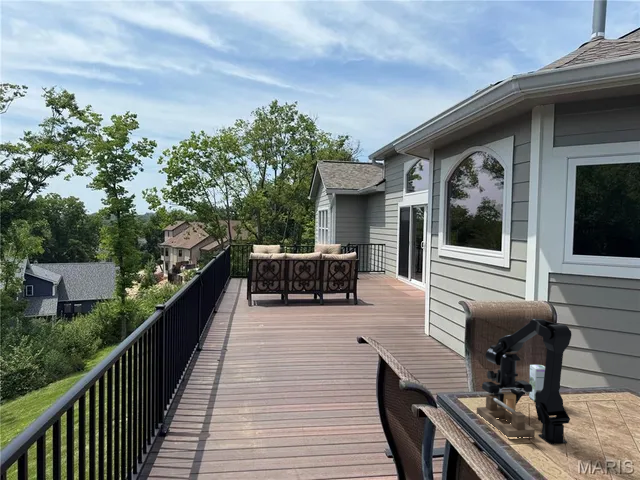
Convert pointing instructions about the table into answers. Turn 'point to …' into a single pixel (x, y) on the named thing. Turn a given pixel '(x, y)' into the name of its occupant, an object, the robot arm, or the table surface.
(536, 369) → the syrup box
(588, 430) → the table surface
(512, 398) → the clip
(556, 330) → the robot arm
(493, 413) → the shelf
